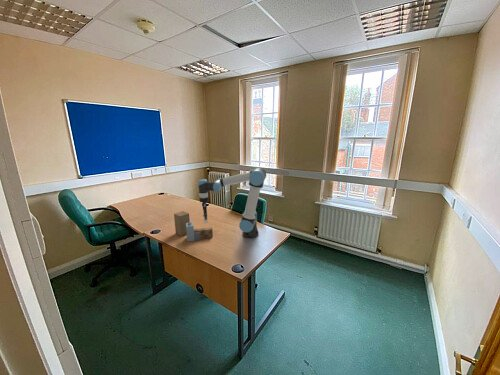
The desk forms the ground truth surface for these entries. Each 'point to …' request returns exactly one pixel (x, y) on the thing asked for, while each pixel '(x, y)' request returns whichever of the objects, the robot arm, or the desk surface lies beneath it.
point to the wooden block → (181, 222)
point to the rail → (205, 232)
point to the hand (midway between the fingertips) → (205, 219)
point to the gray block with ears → (191, 232)
